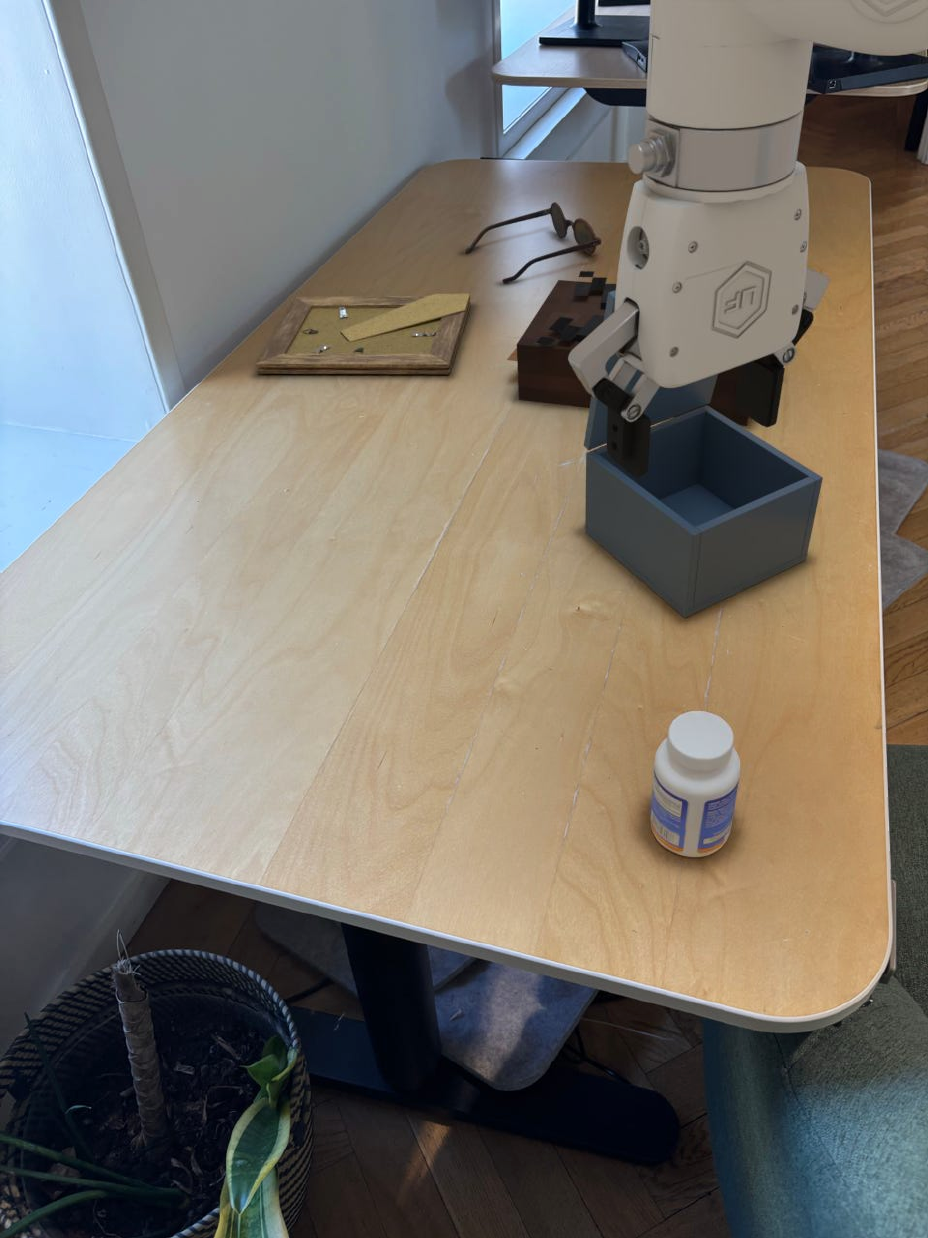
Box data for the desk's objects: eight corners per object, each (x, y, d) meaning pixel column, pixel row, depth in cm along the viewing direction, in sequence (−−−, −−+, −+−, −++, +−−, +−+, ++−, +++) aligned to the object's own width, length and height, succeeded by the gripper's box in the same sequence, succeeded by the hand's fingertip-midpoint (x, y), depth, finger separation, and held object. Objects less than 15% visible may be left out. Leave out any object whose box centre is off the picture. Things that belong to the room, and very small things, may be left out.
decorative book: (778, 367, 98) (491, 340, 107) (768, 433, 103) (495, 402, 112) (799, 286, 111) (542, 267, 120) (789, 348, 116) (543, 326, 125)
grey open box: (806, 560, 88) (823, 477, 82) (684, 618, 83) (693, 535, 77) (698, 483, 98) (706, 404, 92) (584, 532, 93) (585, 452, 87)
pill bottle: (728, 798, 69) (744, 703, 63) (731, 863, 65) (750, 769, 59) (649, 792, 70) (657, 698, 64) (648, 856, 66) (657, 763, 60)
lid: (753, 250, 79) (713, 220, 82) (614, 297, 75) (577, 264, 77) (710, 402, 91) (676, 372, 94) (588, 450, 87) (556, 417, 89)
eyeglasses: (601, 261, 139) (601, 225, 135) (506, 286, 135) (504, 250, 131) (551, 228, 149) (550, 194, 145) (461, 251, 145) (459, 216, 141)
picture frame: (470, 306, 131) (298, 307, 134) (470, 293, 130) (295, 294, 133) (449, 376, 117) (258, 375, 121) (448, 362, 116) (255, 361, 120)
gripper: (620, 209, 44) (610, 518, 56) (906, 127, 50) (844, 424, 61) (532, 166, 49) (540, 458, 61) (801, 96, 55) (761, 376, 66)
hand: (692, 441), depth 61 cm, fingers open, 9 cm apart
